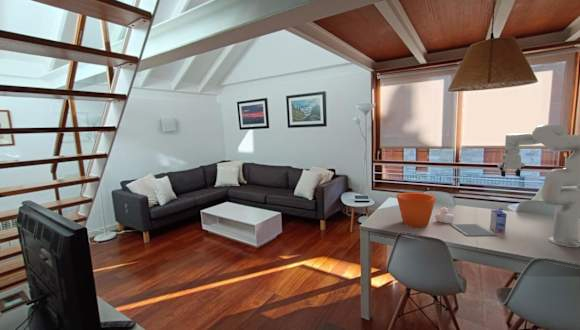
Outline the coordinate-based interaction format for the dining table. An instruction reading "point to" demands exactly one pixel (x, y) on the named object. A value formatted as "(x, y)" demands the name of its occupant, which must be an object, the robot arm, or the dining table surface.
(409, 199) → the flowerpot
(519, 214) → the dining table surface
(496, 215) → the ink cartridge box
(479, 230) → the mat
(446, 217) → the white lumpy piece
